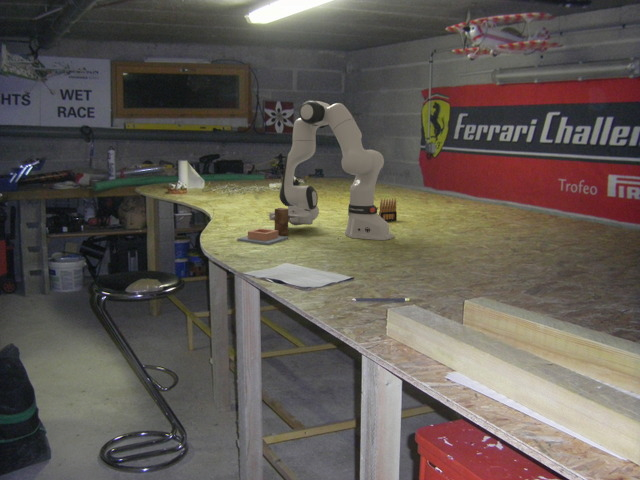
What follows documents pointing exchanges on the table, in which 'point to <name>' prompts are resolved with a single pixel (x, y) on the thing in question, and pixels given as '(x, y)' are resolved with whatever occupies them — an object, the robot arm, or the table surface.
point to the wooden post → (281, 221)
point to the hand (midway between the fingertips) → (281, 219)
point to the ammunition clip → (388, 210)
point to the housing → (263, 237)
